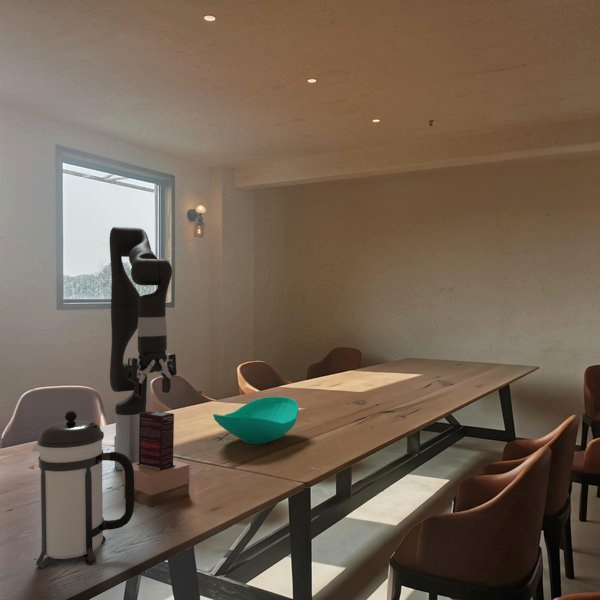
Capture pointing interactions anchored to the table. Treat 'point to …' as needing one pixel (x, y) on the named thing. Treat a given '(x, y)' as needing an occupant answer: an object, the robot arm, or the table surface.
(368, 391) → the table surface
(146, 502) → the tower bottom
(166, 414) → the supplement box
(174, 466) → the tower top
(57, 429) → the coffee press
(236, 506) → the table surface
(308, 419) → the table surface
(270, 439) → the table top decor
